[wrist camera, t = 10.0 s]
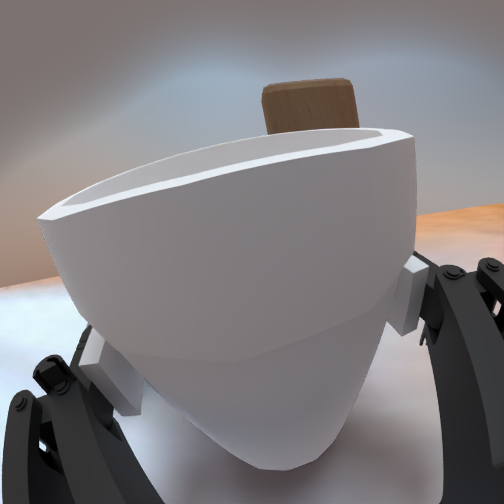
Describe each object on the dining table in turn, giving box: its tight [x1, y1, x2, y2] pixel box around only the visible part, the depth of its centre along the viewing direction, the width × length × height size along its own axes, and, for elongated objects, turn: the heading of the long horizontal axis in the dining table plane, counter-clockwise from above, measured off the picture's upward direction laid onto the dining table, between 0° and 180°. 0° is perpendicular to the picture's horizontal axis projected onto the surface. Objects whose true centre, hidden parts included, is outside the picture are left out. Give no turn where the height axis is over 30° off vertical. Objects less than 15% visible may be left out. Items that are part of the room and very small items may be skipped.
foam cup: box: [37, 128, 417, 471], centre depth 9 cm, size 10×9×13 cm
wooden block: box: [262, 78, 359, 135], centre depth 32 cm, size 10×10×20 cm
